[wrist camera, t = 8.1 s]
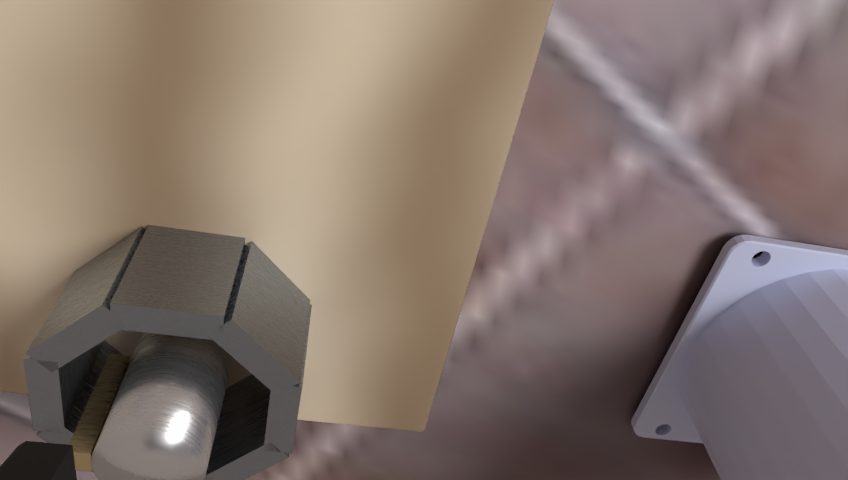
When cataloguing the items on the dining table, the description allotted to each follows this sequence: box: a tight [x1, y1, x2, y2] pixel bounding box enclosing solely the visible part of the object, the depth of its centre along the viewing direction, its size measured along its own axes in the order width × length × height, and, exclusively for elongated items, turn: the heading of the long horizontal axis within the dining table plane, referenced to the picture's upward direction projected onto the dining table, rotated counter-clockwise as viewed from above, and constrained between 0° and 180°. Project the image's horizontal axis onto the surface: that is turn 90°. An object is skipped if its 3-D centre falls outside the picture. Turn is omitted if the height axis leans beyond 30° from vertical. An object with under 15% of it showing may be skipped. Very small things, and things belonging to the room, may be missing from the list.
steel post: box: [69, 332, 233, 480], centre depth 17 cm, size 3×2×4 cm
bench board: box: [0, 0, 554, 432], centre depth 15 cm, size 14×22×1 cm, turn 168°
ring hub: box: [23, 225, 312, 480], centre depth 18 cm, size 6×6×3 cm
